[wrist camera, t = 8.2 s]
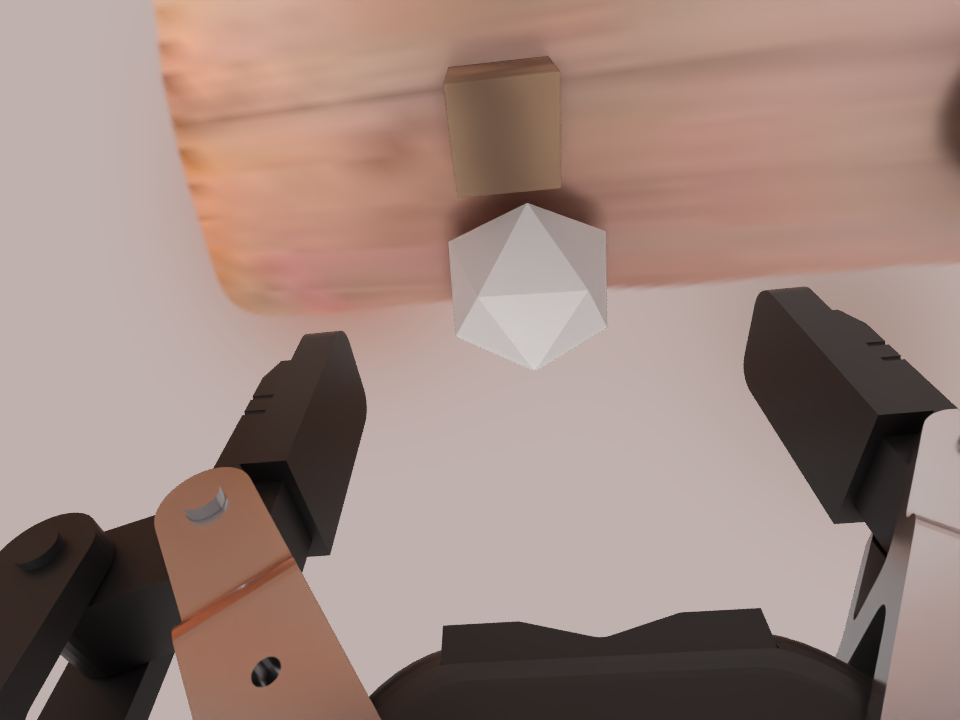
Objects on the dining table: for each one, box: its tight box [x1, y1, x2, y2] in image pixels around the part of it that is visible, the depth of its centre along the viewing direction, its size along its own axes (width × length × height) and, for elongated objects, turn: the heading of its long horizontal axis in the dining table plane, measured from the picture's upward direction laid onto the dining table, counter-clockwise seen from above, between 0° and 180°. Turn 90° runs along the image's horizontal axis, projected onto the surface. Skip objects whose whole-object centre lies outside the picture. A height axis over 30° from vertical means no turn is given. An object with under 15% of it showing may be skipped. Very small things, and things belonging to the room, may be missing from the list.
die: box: [448, 203, 607, 371], centre depth 30 cm, size 8×9×10 cm
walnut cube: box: [443, 56, 561, 198], centre depth 27 cm, size 5×5×5 cm
